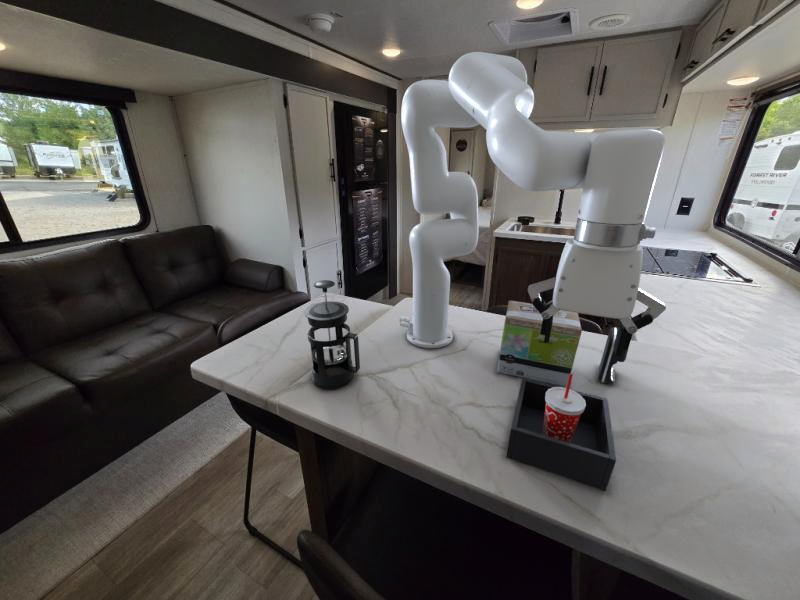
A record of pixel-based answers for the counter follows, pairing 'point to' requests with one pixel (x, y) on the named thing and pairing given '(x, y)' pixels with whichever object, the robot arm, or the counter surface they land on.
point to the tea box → (538, 344)
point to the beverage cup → (562, 412)
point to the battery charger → (610, 359)
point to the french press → (331, 342)
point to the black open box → (576, 460)
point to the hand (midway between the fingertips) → (580, 345)
